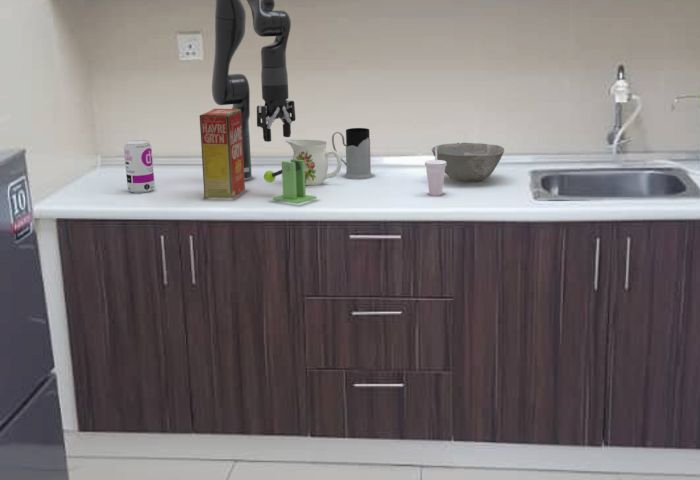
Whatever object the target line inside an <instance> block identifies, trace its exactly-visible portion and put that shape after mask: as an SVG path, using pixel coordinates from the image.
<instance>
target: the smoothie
mask: <svg viewBox="0 0 700 480" xmlns="http://www.w3.org/2000/svg"><path fill="white" fill-rule="evenodd" d="M434 147H435V146H434ZM424 166H425V169H426V170H425V171H426V178H427V185H428V186H427V187H428V194H429V195H430V196H434V197H435V196H442V194H443V188H444V181H445V174H446V173H445V166H446V161H443V160H437V147H435V156H434V159H430V160H429V159H428V160H426V161H424Z"/></svg>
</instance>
